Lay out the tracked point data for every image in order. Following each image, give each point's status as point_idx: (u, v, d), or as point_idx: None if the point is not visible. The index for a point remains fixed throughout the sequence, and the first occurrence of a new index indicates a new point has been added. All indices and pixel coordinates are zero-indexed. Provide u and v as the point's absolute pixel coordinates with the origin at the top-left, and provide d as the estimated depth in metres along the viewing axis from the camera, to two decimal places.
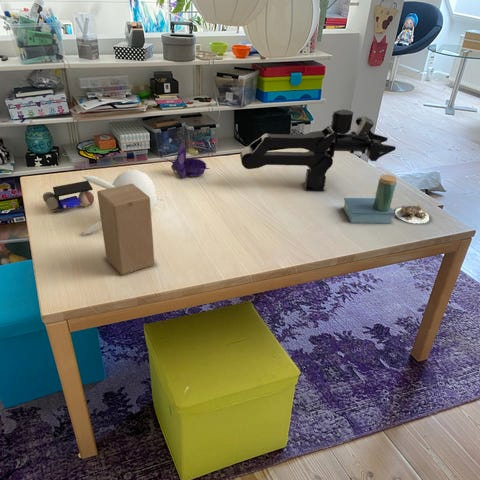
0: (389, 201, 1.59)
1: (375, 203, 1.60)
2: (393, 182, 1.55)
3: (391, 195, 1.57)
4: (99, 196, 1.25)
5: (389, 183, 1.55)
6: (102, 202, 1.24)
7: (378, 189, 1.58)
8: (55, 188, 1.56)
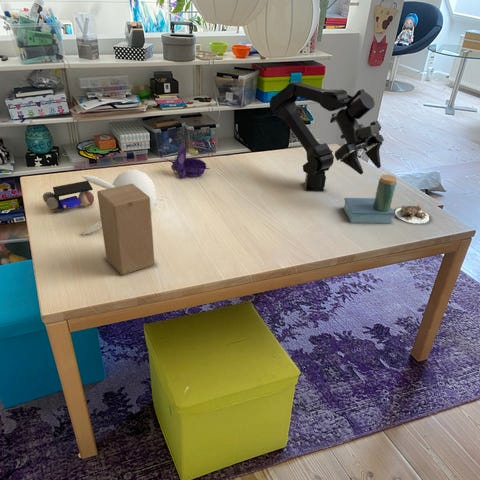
0: (389, 201, 1.59)
1: (375, 203, 1.60)
2: (393, 182, 1.55)
3: (391, 195, 1.57)
4: (99, 196, 1.25)
5: (389, 183, 1.55)
6: (102, 202, 1.24)
7: (378, 189, 1.58)
8: (55, 188, 1.56)
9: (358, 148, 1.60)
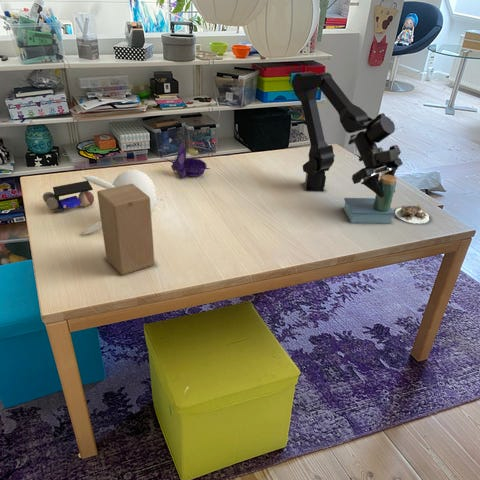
0: (389, 201, 1.59)
1: (375, 203, 1.60)
2: (393, 182, 1.55)
3: (391, 195, 1.57)
4: (99, 196, 1.25)
5: (389, 183, 1.55)
6: (102, 202, 1.24)
7: None
8: (55, 188, 1.56)
9: None
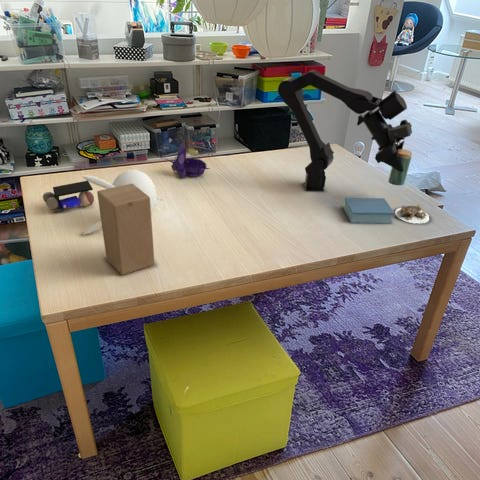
0: (406, 174, 1.65)
1: (393, 178, 1.66)
2: (410, 155, 1.61)
3: None
4: (99, 196, 1.25)
5: (408, 157, 1.61)
6: (102, 202, 1.24)
7: None
8: (55, 188, 1.56)
9: None
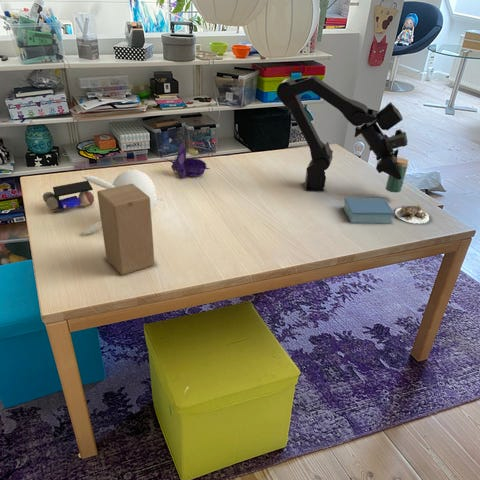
0: None
1: (391, 186, 1.72)
2: (407, 163, 1.68)
3: (404, 175, 1.71)
4: (99, 196, 1.25)
5: (405, 165, 1.67)
6: (102, 202, 1.24)
7: None
8: (55, 188, 1.56)
9: None
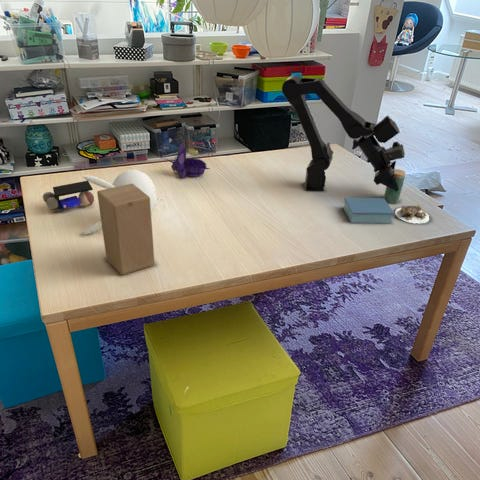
0: (400, 192, 1.74)
1: (389, 197, 1.74)
2: (404, 175, 1.70)
3: (402, 186, 1.73)
4: (99, 196, 1.25)
5: (402, 176, 1.69)
6: (102, 202, 1.24)
7: None
8: (55, 188, 1.56)
9: None
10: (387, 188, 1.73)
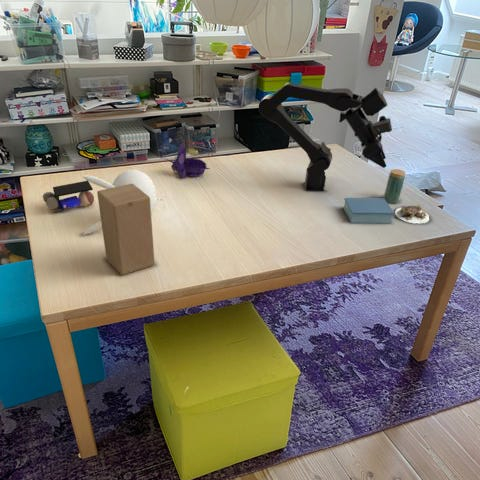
0: (400, 192, 1.74)
1: (389, 197, 1.74)
2: (404, 175, 1.70)
3: (402, 186, 1.73)
4: (99, 196, 1.25)
5: (402, 176, 1.69)
6: (102, 202, 1.24)
7: (392, 184, 1.71)
8: (55, 188, 1.56)
9: None
10: (387, 188, 1.73)
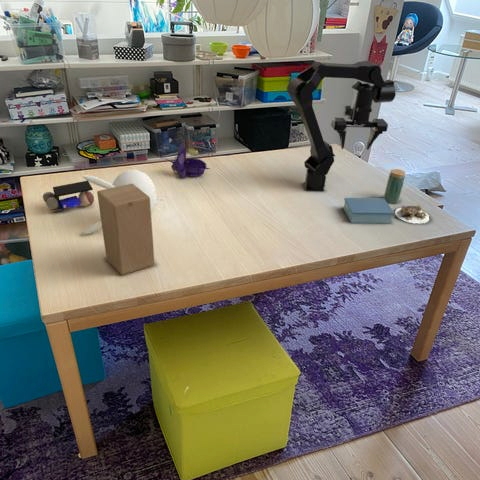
0: (400, 192, 1.74)
1: (389, 197, 1.74)
2: (404, 175, 1.70)
3: (402, 186, 1.73)
4: (99, 196, 1.25)
5: (402, 176, 1.69)
6: (102, 202, 1.24)
7: (392, 184, 1.71)
8: (55, 188, 1.56)
9: None
10: (387, 188, 1.73)
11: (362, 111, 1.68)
